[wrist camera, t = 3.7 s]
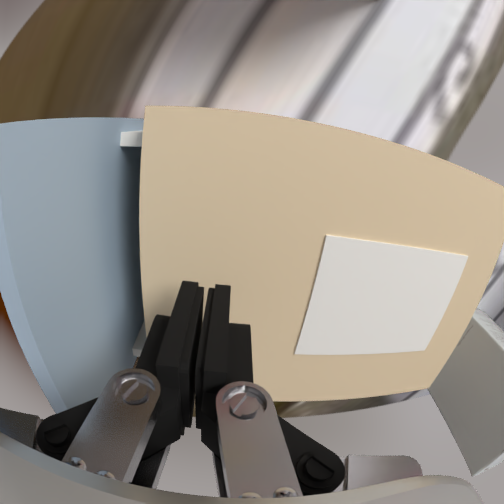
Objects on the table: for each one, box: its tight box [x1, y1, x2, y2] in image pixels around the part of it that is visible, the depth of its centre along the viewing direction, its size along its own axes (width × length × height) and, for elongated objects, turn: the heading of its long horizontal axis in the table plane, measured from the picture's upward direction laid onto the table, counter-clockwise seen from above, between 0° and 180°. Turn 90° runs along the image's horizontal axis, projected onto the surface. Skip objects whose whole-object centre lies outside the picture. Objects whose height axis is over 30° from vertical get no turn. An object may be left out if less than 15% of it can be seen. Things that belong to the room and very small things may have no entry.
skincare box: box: [427, 309, 504, 477], centre depth 16 cm, size 8×6×15 cm
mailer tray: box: [0, 118, 147, 414], centre depth 12 cm, size 18×13×12 cm
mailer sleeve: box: [139, 106, 504, 401], centre depth 15 cm, size 18×14×7 cm
